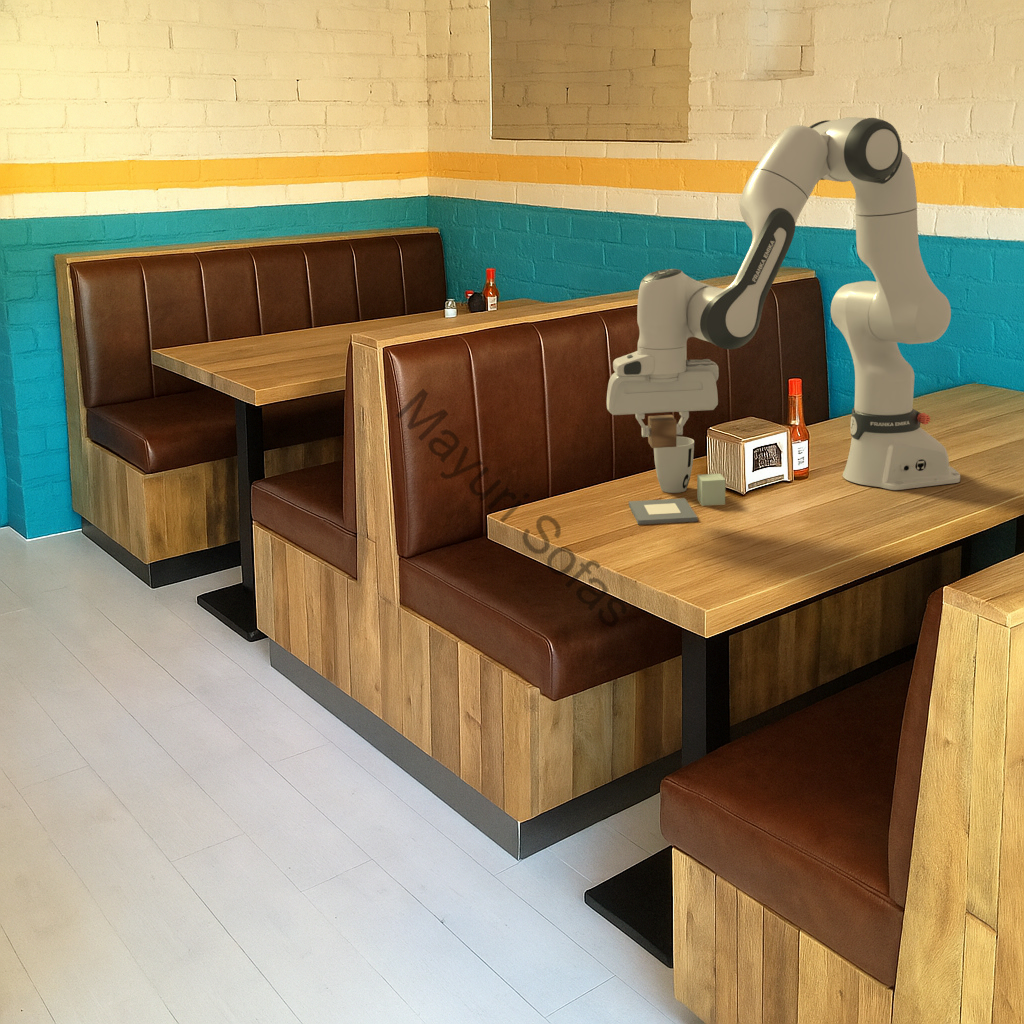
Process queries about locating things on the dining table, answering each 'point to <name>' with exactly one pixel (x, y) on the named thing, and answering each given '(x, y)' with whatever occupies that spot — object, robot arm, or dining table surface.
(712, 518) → the dining table surface
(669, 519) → the grey flat square plate
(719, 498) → the sage block
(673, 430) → the walnut block
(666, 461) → the cup
